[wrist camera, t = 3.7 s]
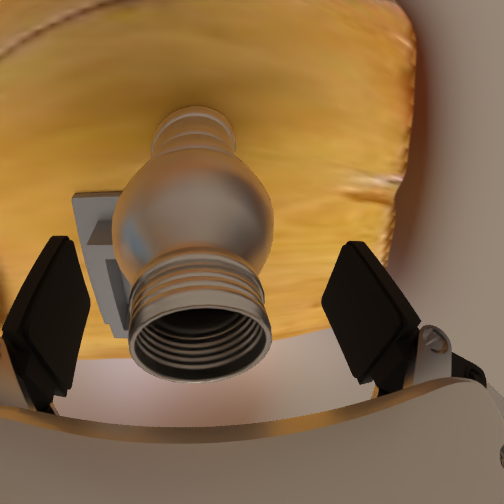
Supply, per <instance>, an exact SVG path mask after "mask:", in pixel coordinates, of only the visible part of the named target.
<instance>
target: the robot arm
mask: <svg viewBox="0 0 504 504" xmlns="http://www.w3.org/2000/svg"><path fill="white" fill-rule="evenodd" d="M321 303H322V307H323V309H324V312H325V314H326V316H327V318H328V320H329V323H330V325H331V327H332V329H333V331H334V334H335V336H336V338H337V340H338V343H339V345H340V347H341V349H342V352H343V354H344V356H345V359H346V361H347V363H348V366H349V368H350V370H351V373H352V375H353V376H354V377H355V378H357V380H358V382H359V384H360V385H361V384H365V383H369V382H372V381H373V380H374V382H375V388H374V391H373V394H372V397H371V400H367V401H364V402H360V403H357V404H353V405H349V406H346V407H342V408H338V409H333V410H329V411H325V412H320V413H315V414H311V415H305V416H300V417H294V418H289V419H282V420H276V421H269V422H262V423H253V424H243V425H233V426H232V425H231V426H216V427H188V428H187V427H186V428H185V427H184V428H182V427H181V428H179V427H172V428H171V427H144V426H130V425H119V424H109V423H102V422H94V421H87V420H81V419H74V418H68V417H63V416H60V415H59V413H58V412H57V410H56V408H55V406H54V404H53V396H54V395H57V396H62V397H66V395H67V389H71V387H72V382H73V377H74V372H75V366H76V362H77V357H78V353H79V348H80V344H81V340H82V336H83V332H84V328H85V325H86V321H87V317H88V314H89V310H90V297H89V294H88V291H87V288H86V285H85V282H84V278H83V275H82V272H81V268H80V265H79V261H78V257H77V253H76V249H75V245H74V242H73V241H72V240H69V238H68V236H52V237H51V238H50V239H49V241H48V242H47V244H46V246H45V247H44V249H43V250H42V252H41V254H40V255H39V257H38V259H37V260H36V262H35V264H34V265H33V267H32V269H31V271H30V272H29V274H28V276H27V278H26V280H25V282H24V283H23V285H22V287H21V289H20V291H19V293H18V295H17V297H16V299H15V301H14V303H13V305H12V307H11V309H10V312H9V314H8V316H7V318H6V320H5V323H4V325H3V327H2V331H3V335H2V337H0V504H504V398H503V397H502V396H501V395H500V394H499V393H498V392H497V391H496V390H495V389H494V388H493V387H492V386H491V385H490V384H489V383H488V384H486V378H485V374H484V372H483V370H482V369H481V368H479V367H478V366H477V365H475V364H473V363H471V362H470V361H467V360H466V359H464V358H462V357H460V356H458V355H456V354H455V353H453V352H452V351H451V350H452V348H451V343H450V340H449V338H448V337H447V335H446V334H445V333H444V332H443V331H442V330H441V329H439V328H438V327H436V326H433V325H425V326H423V327H422V328H421V329H420V330H419V329H418V327H417V326H418V325H419V324H420V322H421V320H420V319H419V317H418V315H417V314H416V312H415V311H414V309H413V308H412V306H411V305H410V303H409V302H408V300H407V299H406V297H405V296H404V295H403V293H402V292H401V290H400V289H399V288H398V286H397V285H396V283H395V282H394V281H393V279H392V278H391V276H390V275H389V274H388V272H387V271H386V270H385V268H384V267H383V266H382V264H381V263H380V262H379V260H378V259H377V258H376V256H375V255H374V254H373V253H372V251H371V250H370V249H369V248H368V246H367V245H366V244H365V243H364V242H362V241H348V242H347V243H346V245H343V246H342V248H341V251H340V254H339V256H338V259H337V262H336V264H335V267H334V269H333V272H332V274H331V277H330V279H329V282H328V284H327V287H326V289H325V291H324V294H323V296H322V300H321Z"/></svg>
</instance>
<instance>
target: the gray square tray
mask: <svg viewBox="0 0 504 504" xmlns="http://www.w3.org/2000/svg"><path fill="white" fill-rule="evenodd" d="M121 194H122V192H98V193H77V194H74V196H73V197H72V204H73V210H74V215H75V220H76V225H77V230H78V234H79V239H80V243H81V247H82V251H83V255H84V259H85V263H86V267H87V270H88V274H89V277H90V281H91V284H92V287H93V291H94V294H95V297H96V300H97V303H98V306H99V309H100V312H101V315H102V317H103V320H104V323H105V324H109V325H110V327H111V330H112V333H113V336H114V338H128V333H129V324H130V312H129V297H130V291H131V287H132V285H131V284H130V283H129V281H128V280H127V278H126V277H125V275H124V274H123V273H122V271H121V270H120V268H119V265H118V263H117V261H116V258H115V254H114V249H113V242H112V218H113V213H114V210H115V207H116V203H117V201H118V199H119V197H120V196H121Z"/></svg>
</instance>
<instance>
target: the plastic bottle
mask: <svg viewBox="0 0 504 504" xmlns="http://www.w3.org/2000/svg"><path fill="white" fill-rule="evenodd" d="M235 149H236V144H235V134H234V131H233V128H232V126H231V124H230V123H229V121H228V120H227V119H226V118H225V117H224V116H223V115H222V114H221V113H219V112H218V111H216V110H214V109H211V108H209V107H204V106H189V107H184V108H181V109H179V110H176V111H174V112H173V113H171V114H170V115H168V116H167V117H166V118H165V119H164V120H163V121H162V122H161V123H160V125H159V126H158V127H157V129H156V131H155V133H154V136H153V139H152V144H151V159H150V160H149V161H148V162H147V163H146V164H145V165H144V166H143V167H142V168H141V169H140V170H139V171H138V172H137V173H136V174H135V175H134V176H133V178H132V179H131V180H130V181H129V183H128V184H127V186H126V187H125V189H124V190H123V192H122V194H121V196H120V197H119V199H118V201H117V203H116V207H115V210H114V213H113V218H112V242H113V249H114V254H115V258H116V261H117V263H118V265H119V268H120V270H121V271H122V273H123V274H124V275H125V277H126V278H127V280H128V281H129V283H130V284H131V285H132V287H131V291H130V297H129V312H130V324H129V333H128V344H129V351H130V354H131V356H132V358H133V360H134V361H135V362H136V364H137V365H138V366H139V367H141V368H142V369H143V370H144V371H146V372H148V373H149V374H151V375H153V376H156V377H158V378H161V379H164V380H168V381H172V382H179V383H190V384H197V383H210V382H216V381H221V380H224V379H228V378H231V377H234V376H237V375H239V374H241V373H243V372H245V371H247V370H249V369H251V368H252V367H253V366H255V365H256V364H258V363H259V362H260V361H261V360H262V359H263V358H264V357H265V355H266V354H267V352H268V351H269V349H270V346H271V343H272V334H271V325H270V322H269V319H268V316H267V313H266V310H265V307H264V303H265V301H264V292H263V289H262V285H261V282H260V280H259V277H258V275H259V273H260V271H261V270H262V268H263V266H264V264H265V262H266V260H267V257H268V255H269V253H270V250H271V245H272V241H273V228H274V216H273V208H272V204H271V200H270V197H269V195H268V193H267V192H266V190H265V188H264V186H263V184H262V183H261V182H260V180H259V179H258V178H257V176H256V175H255V174H254V173H253V172H252V171H251V170H250V168H249V167H248V166H247V165H245V164H244V163H243V162H242V161H241V160H240V159H239V158H238V157H236V155H235Z"/></svg>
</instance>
